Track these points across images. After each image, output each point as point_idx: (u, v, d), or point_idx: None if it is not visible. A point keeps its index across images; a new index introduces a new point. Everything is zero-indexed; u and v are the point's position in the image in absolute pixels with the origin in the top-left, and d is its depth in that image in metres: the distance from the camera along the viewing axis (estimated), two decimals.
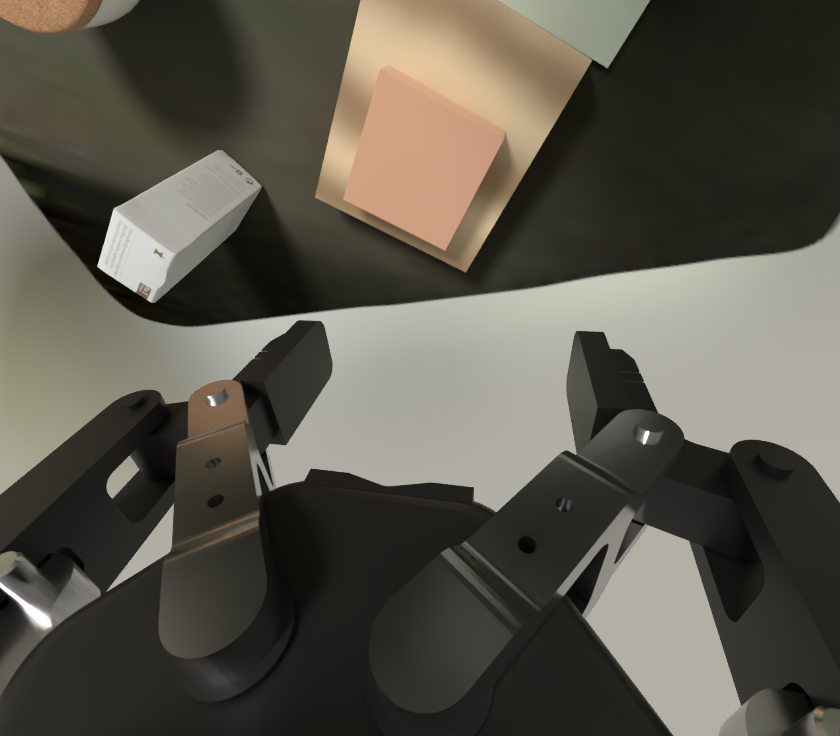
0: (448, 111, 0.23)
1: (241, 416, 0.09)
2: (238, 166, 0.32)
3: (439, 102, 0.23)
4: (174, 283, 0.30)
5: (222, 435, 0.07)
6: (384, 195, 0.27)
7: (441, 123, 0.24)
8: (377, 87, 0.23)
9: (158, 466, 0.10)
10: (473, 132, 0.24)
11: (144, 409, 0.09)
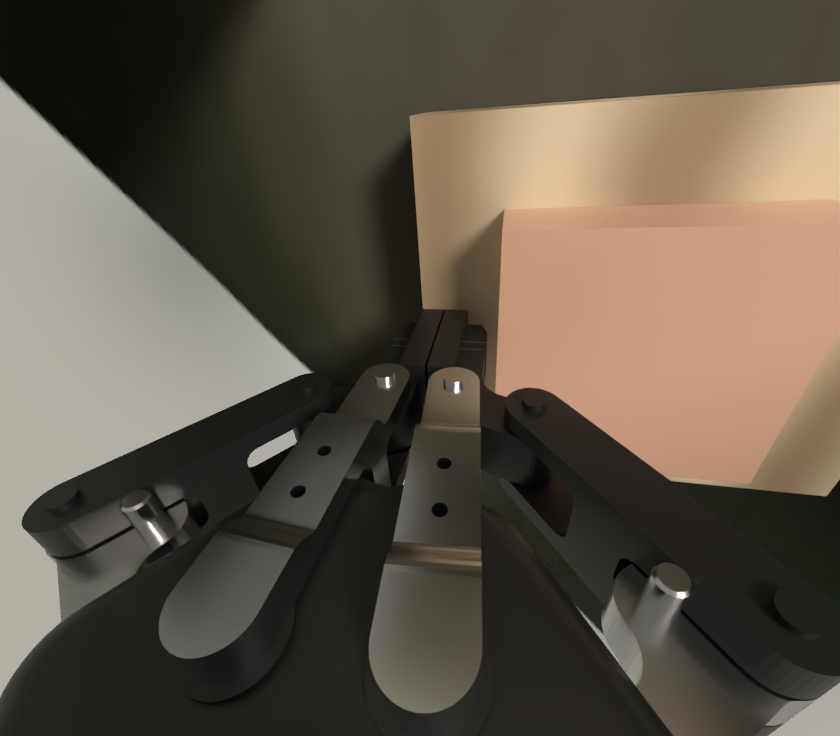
0: (796, 393, 0.11)
1: (387, 410, 0.09)
2: None
3: None
4: None
5: (349, 426, 0.07)
6: (557, 326, 0.11)
7: (766, 388, 0.11)
8: None
9: None
10: (755, 441, 0.12)
11: (320, 391, 0.09)
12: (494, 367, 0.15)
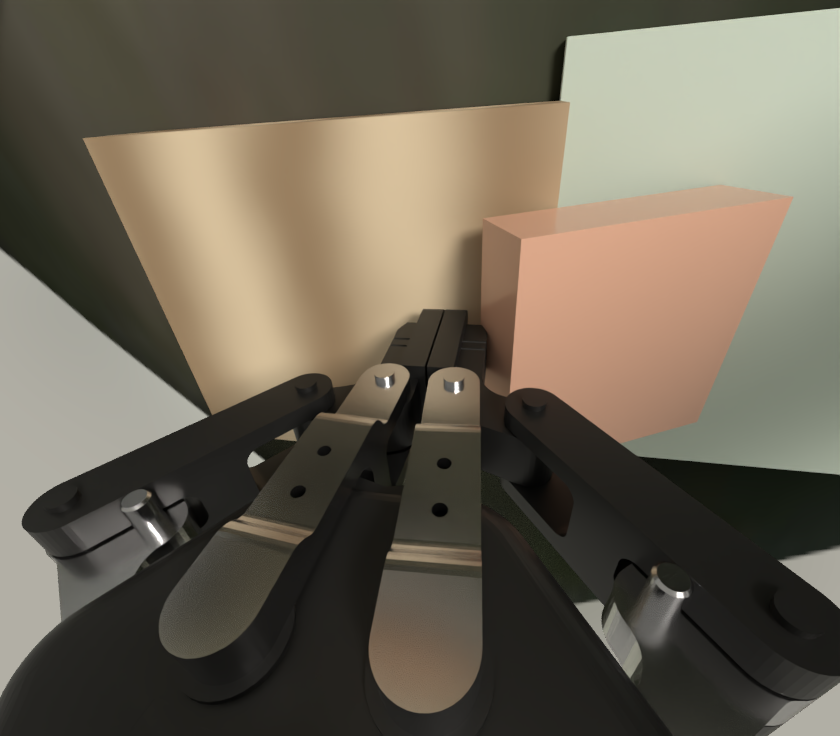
0: (729, 340, 0.13)
1: (387, 410, 0.09)
2: None
3: None
4: None
5: (350, 426, 0.07)
6: (567, 326, 0.11)
7: (711, 341, 0.13)
8: (766, 206, 0.11)
9: None
10: (702, 386, 0.14)
11: (320, 392, 0.09)
12: (233, 351, 0.17)
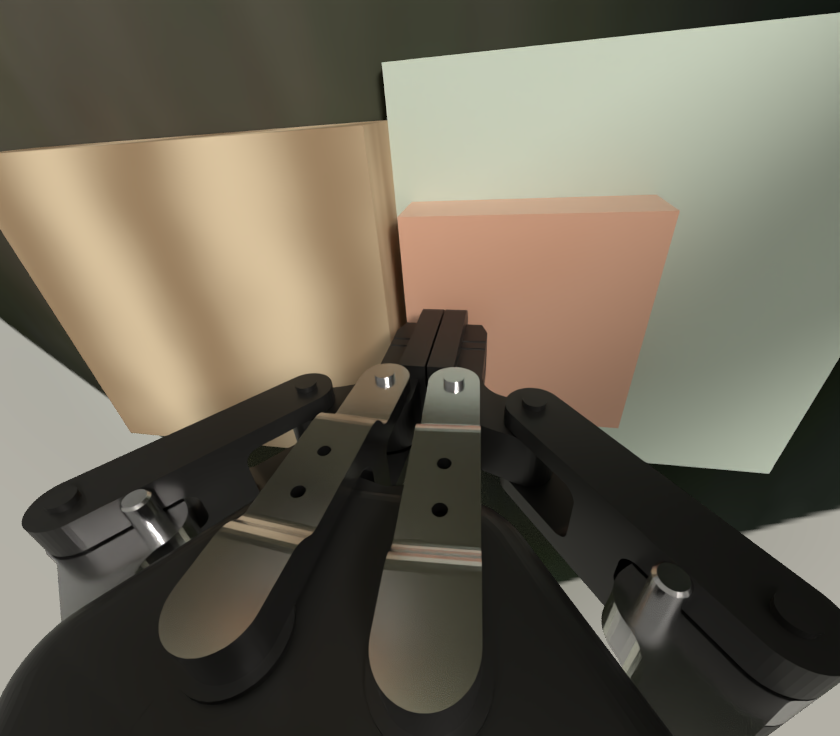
0: (636, 348, 0.13)
1: (387, 410, 0.09)
2: None
3: None
4: None
5: (349, 426, 0.07)
6: (449, 294, 0.14)
7: (613, 344, 0.13)
8: (644, 216, 0.11)
9: None
10: (614, 390, 0.14)
11: (320, 392, 0.09)
12: (125, 354, 0.18)
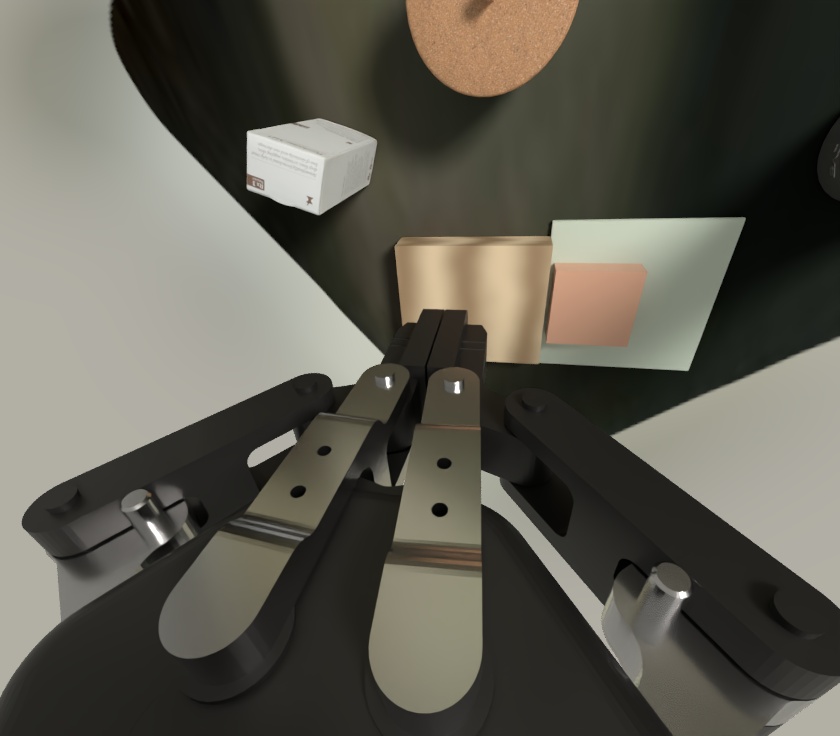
0: (634, 315, 0.39)
1: (387, 410, 0.09)
2: (373, 161, 0.38)
3: None
4: None
5: (349, 426, 0.07)
6: (569, 296, 0.39)
7: (626, 313, 0.39)
8: (637, 273, 0.37)
9: None
10: (626, 331, 0.40)
11: (320, 392, 0.09)
12: None
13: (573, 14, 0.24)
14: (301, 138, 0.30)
